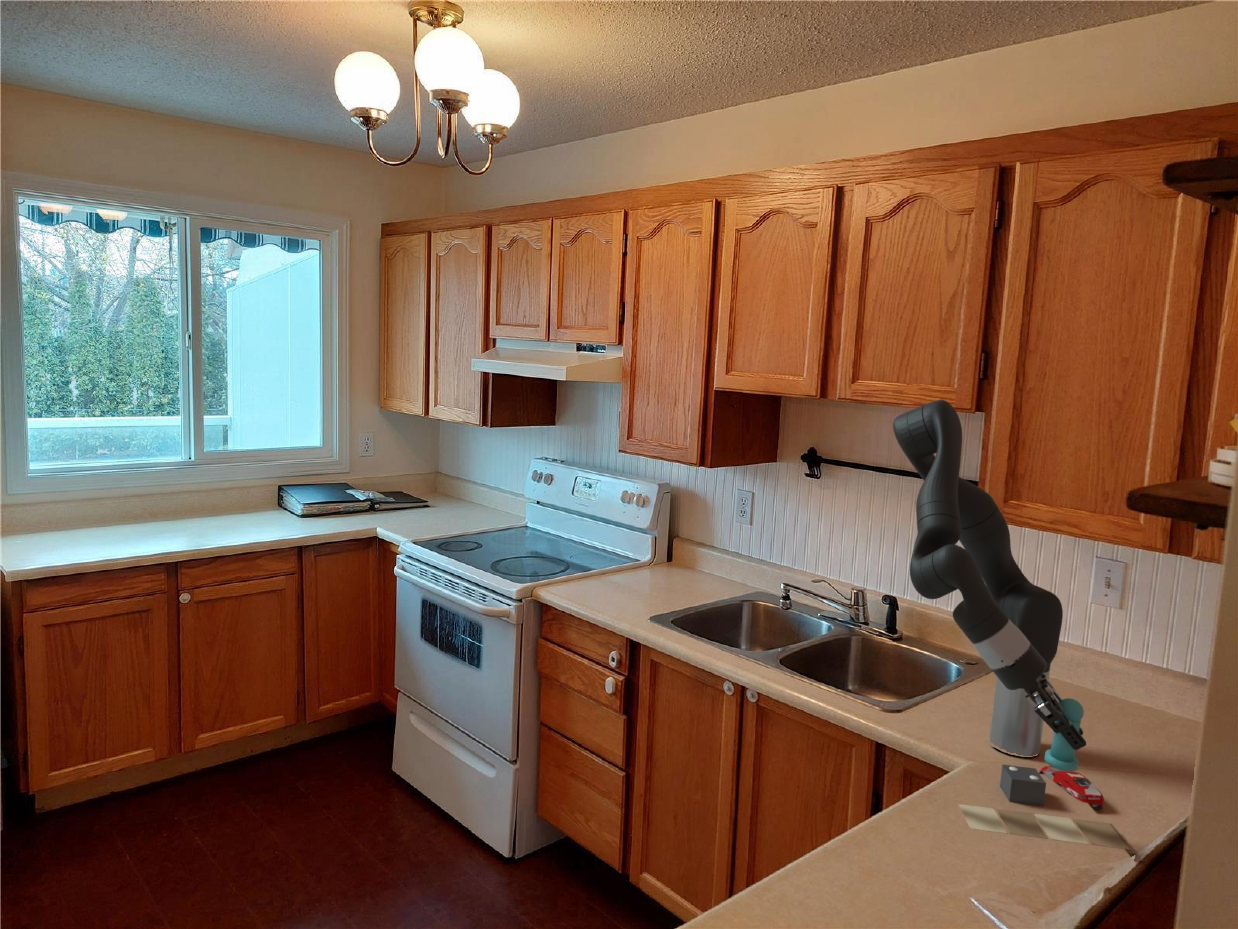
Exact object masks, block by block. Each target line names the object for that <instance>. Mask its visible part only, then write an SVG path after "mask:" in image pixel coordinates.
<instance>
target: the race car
mask: <svg viewBox="0 0 1238 929" xmlns="http://www.w3.org/2000/svg"><path fill="white" fill-rule="evenodd" d="M1038 773H1039V774H1040V775H1044V776H1045V777H1047V778H1048V779H1049V780H1051V781H1052V782H1053V783H1055V784H1056V785H1058V786H1059V787H1060V788H1061V789H1063V790H1064V791H1065V792H1066V793H1069V795H1071V797H1073V798H1075V799H1076V800H1078V801H1080V802H1081V803H1085V804H1088V806H1090V808H1091V809H1103V808H1104V803H1105V800H1104V795H1103V793H1101V791H1100V790H1099V789H1098V788H1097V787H1096V786H1095V785H1094V784H1093V783H1092V781H1090V779H1088V778H1087V776H1084V775H1083V774H1081V773H1080V772H1078V771H1072V772H1068V771H1062V770H1059V769H1056V768H1053V767H1052V766H1050V765H1046V766H1043V767H1041V768H1040V770H1039V772H1038Z"/></svg>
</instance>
